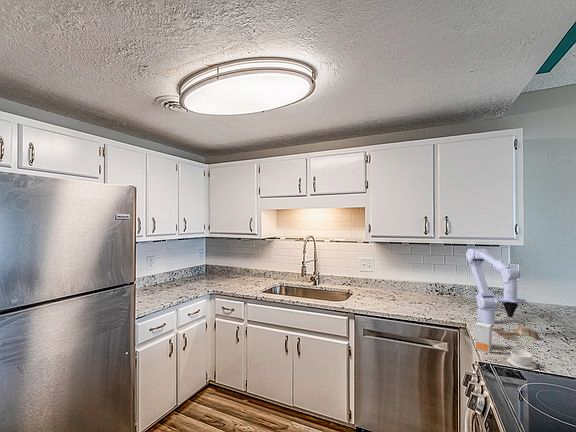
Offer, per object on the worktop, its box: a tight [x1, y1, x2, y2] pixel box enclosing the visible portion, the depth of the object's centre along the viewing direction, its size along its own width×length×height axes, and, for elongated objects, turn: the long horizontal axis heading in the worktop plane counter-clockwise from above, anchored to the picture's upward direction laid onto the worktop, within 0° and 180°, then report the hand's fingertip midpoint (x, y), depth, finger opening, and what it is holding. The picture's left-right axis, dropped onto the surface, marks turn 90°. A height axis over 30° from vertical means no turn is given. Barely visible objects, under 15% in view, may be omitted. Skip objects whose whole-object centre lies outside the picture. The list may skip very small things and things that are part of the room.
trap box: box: [492, 323, 539, 341], centre depth 160 cm, size 14×15×4 cm
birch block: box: [515, 324, 530, 337], centre depth 159 cm, size 4×4×4 cm
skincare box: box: [474, 321, 493, 354], centre depth 143 cm, size 6×4×12 cm
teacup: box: [506, 349, 537, 370], centre depth 130 cm, size 10×10×5 cm
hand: (510, 316), depth 163 cm, fingers closed
